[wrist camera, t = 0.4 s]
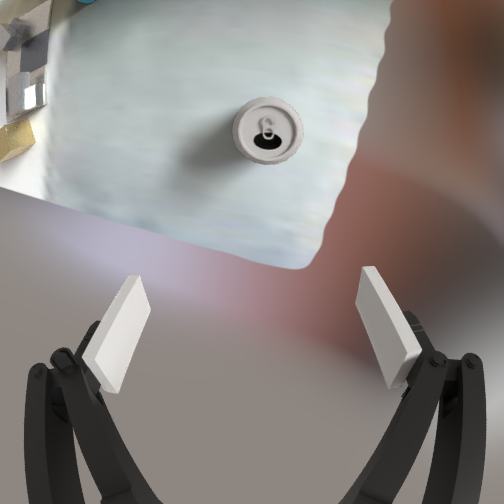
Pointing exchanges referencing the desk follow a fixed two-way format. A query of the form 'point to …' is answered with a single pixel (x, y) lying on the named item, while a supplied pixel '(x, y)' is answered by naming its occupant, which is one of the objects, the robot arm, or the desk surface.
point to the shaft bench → (26, 60)
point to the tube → (86, 1)
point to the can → (267, 130)
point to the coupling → (15, 139)
